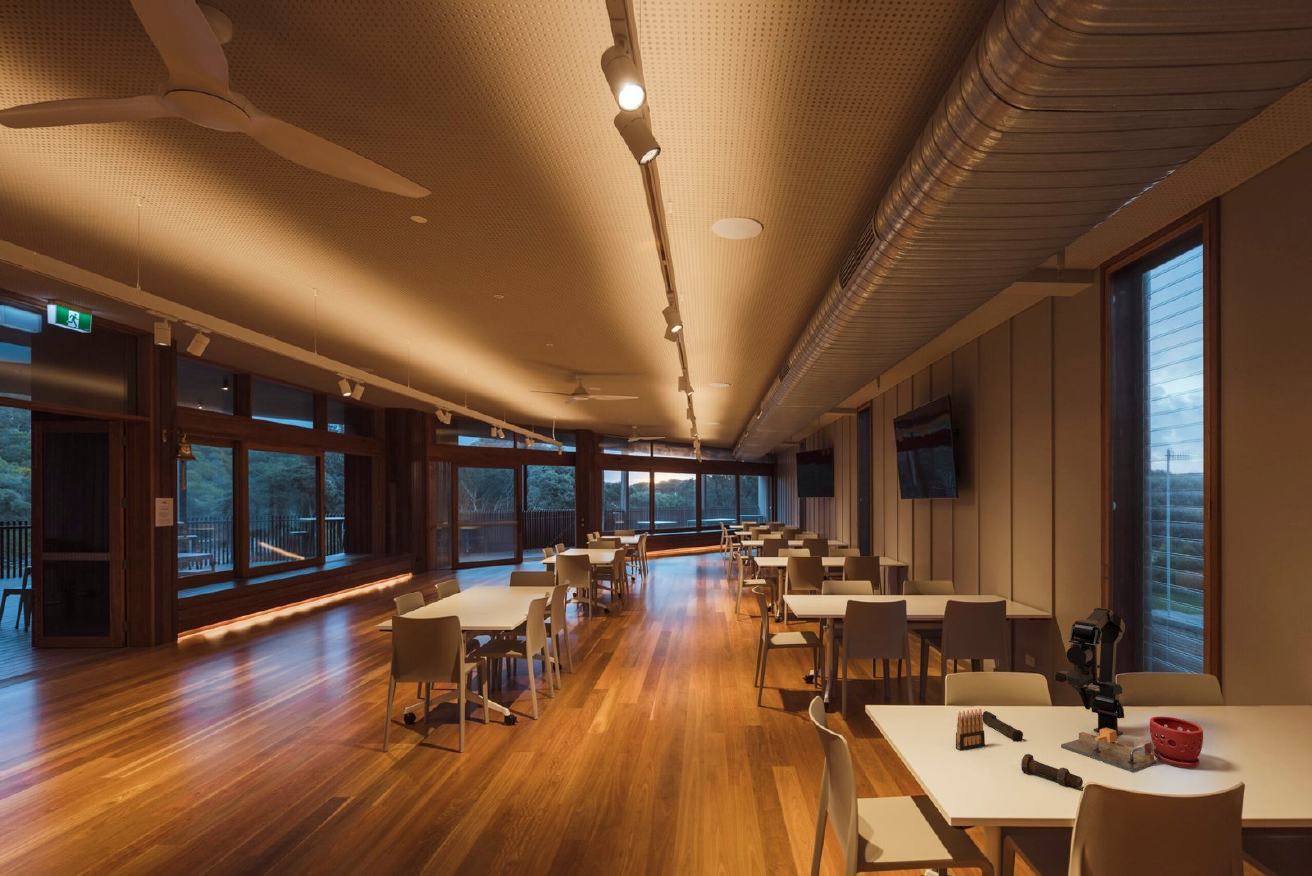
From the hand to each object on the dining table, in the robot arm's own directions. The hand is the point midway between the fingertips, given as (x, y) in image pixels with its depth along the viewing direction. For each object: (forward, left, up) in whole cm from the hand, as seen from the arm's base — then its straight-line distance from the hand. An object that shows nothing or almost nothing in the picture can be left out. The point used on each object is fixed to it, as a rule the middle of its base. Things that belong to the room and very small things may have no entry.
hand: (1087, 709), depth 220 cm
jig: (+2, +7, -12) cm, 14 cm away
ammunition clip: (+36, -17, -12) cm, 42 cm away
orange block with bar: (0, +5, -11) cm, 12 cm away
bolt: (+37, +9, -12) cm, 40 cm away
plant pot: (-12, +20, -12) cm, 26 cm away
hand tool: (+14, -22, -13) cm, 29 cm away
